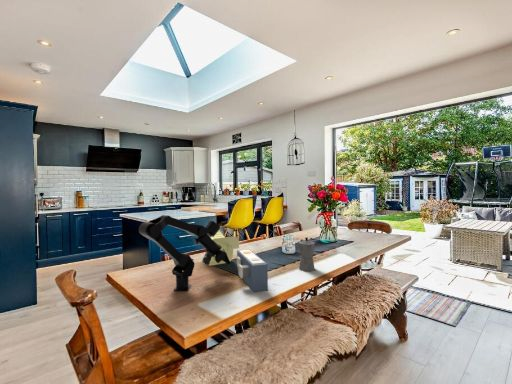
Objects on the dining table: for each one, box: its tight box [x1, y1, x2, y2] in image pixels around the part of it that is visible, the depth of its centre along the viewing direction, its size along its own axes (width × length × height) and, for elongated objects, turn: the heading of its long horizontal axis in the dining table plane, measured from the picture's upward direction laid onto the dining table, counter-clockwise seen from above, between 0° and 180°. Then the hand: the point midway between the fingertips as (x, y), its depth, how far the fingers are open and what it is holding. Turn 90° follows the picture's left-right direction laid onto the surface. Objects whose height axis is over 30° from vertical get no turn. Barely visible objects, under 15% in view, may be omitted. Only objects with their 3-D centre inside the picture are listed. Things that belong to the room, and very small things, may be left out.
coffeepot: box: [298, 236, 316, 272], centre depth 153 cm, size 15×9×18 cm, turn 12°
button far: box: [236, 255, 242, 268], centre depth 142 cm, size 6×5×5 cm
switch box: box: [236, 249, 269, 293], centre depth 135 cm, size 7×30×12 cm, turn 18°
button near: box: [238, 264, 250, 279], centre depth 127 cm, size 6×5×5 cm
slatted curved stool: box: [208, 230, 240, 267], centre depth 170 cm, size 30×16×18 cm, turn 29°
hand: (229, 263), depth 139 cm, fingers closed
